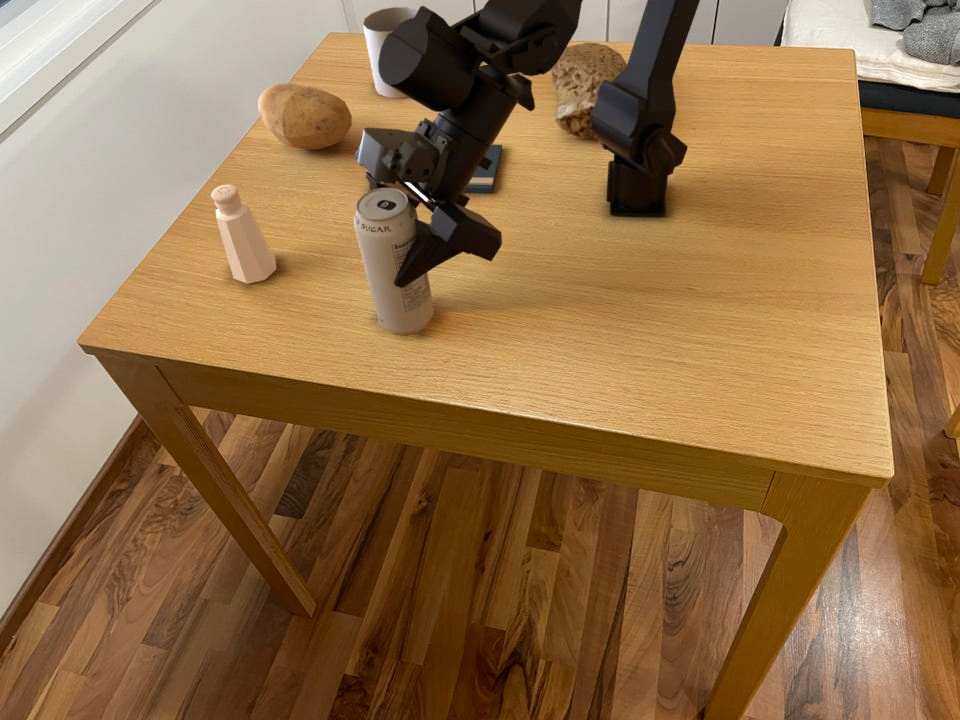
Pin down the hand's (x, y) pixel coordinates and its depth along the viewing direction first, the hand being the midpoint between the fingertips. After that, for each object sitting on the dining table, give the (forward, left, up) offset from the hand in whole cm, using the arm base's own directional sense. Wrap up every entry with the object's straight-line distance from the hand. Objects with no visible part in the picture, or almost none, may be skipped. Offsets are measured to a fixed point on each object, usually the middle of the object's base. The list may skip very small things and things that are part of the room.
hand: (382, 269), depth 74 cm
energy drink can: (-1, -1, -8) cm, 8 cm away
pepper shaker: (+19, -8, -8) cm, 22 cm away
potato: (+20, -35, -8) cm, 41 cm away
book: (+1, -29, -8) cm, 30 cm away
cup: (+11, -52, -8) cm, 54 cm away
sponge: (-18, -45, -8) cm, 49 cm away
